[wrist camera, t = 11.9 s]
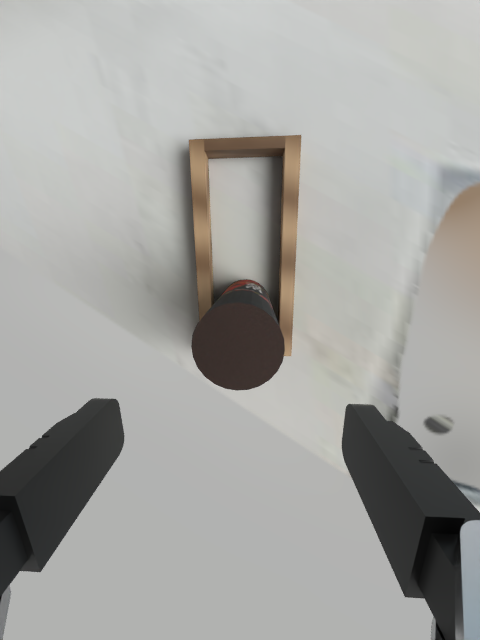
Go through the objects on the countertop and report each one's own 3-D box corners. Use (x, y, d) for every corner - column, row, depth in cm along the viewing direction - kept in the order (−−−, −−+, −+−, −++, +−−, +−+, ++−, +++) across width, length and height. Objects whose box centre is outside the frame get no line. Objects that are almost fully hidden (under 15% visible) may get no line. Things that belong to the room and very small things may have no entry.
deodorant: (221, 325, 30) (192, 388, 16) (222, 278, 29) (190, 300, 14) (268, 327, 30) (281, 392, 16) (270, 280, 29) (288, 303, 14)
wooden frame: (193, 148, 25) (183, 129, 22) (297, 144, 25) (305, 123, 21) (204, 349, 31) (197, 362, 27) (288, 349, 31) (293, 363, 27)
